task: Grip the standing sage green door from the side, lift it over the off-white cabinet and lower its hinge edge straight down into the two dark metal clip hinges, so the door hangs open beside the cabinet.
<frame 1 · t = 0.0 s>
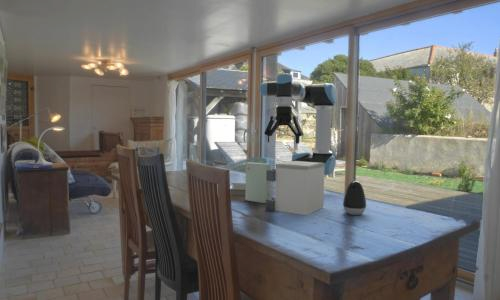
hand: (283, 149, 190), 28 cm above the table, tool pointing down, fingers open, 13 cm apart
clip hinges: (272, 209, 184), on the table
sage door: (257, 201, 204), on the table
black egg-shaped speaker: (354, 214, 178), on the table
cabinet: (299, 209, 186), on the table
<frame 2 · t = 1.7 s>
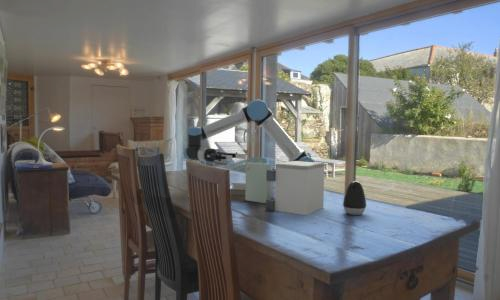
hand: (239, 157, 208), 22 cm above the table, tool horizontal, fingers open, 13 cm apart
nothing on the table moved.
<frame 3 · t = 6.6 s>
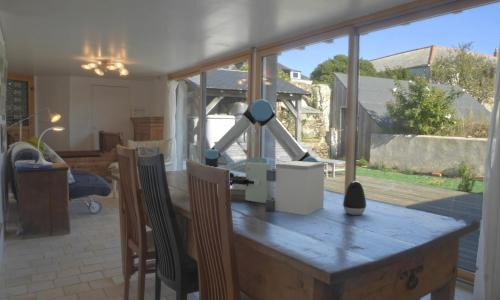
hand: (261, 182, 202), 10 cm above the table, tool horizontal, fingers closed on sage door, 3 cm apart
sage door: (257, 201, 204), on the table, touching gripper
everything else where it was.
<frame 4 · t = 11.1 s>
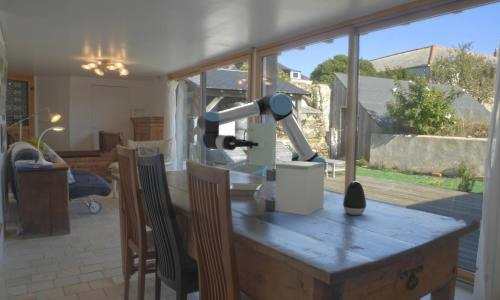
hand: (266, 144, 184), 31 cm above the table, tool horizontal, fingers closed on sage door, 3 cm apart
sage door: (261, 165, 186), point 21 cm above the table, touching gripper
everything else where it was.
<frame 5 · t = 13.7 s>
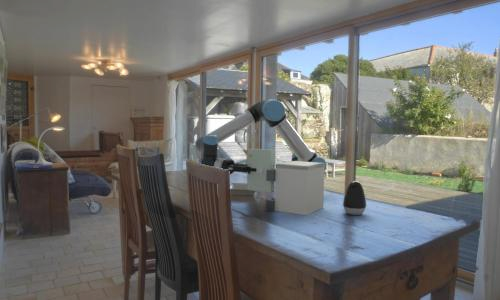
hand: (264, 170, 185), 19 cm above the table, tool horizontal, fingers closed on sage door, 3 cm apart
sage door: (260, 190, 187), point 8 cm above the table, touching clip hinges, gripper
everything else where it was.
when the fingers open (11 cm above the table, at t = 15.9 s): sage door stays where it is, on the table.
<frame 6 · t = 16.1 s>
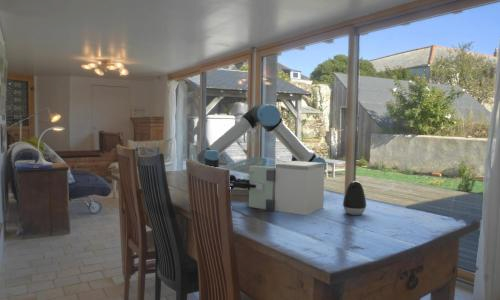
hand: (265, 186, 186), 11 cm above the table, tool horizontal, fingers open, 5 cm apart
sage door: (261, 207, 188), on the table
everything else where it was.
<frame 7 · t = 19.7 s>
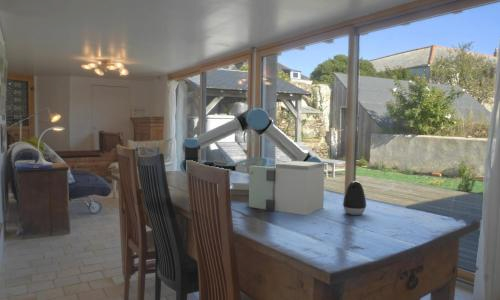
hand: (238, 170, 193), 17 cm above the table, tool horizontal, fingers open, 13 cm apart
nothing on the table moved.
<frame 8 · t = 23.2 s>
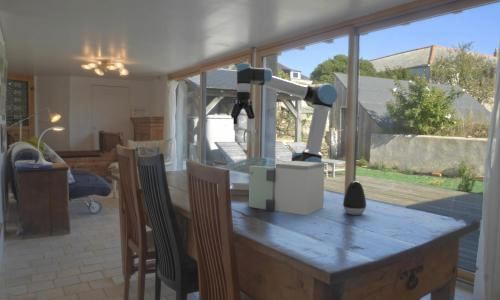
hand: (243, 130, 216), 37 cm above the table, tool pointing down, fingers open, 13 cm apart
nothing on the table moved.
at the end: sage door 0.3 cm from the target spot, on the table; sage door tilted 0°; the gripper is holding nothing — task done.
